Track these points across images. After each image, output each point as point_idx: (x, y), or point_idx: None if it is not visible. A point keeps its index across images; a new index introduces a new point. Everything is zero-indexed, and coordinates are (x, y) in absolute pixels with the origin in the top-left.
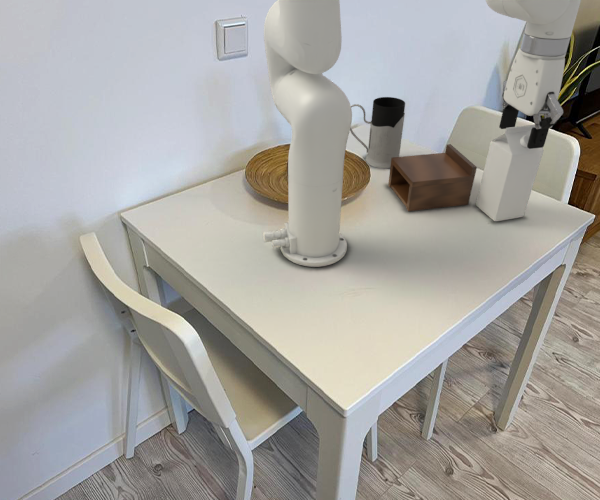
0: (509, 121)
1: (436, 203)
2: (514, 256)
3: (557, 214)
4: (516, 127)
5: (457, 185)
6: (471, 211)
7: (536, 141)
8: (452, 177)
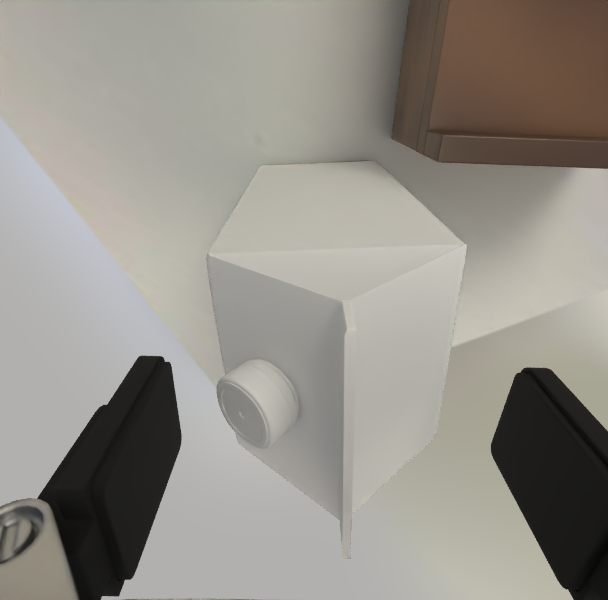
0: (529, 451)
1: None
2: (56, 110)
3: None
4: (343, 420)
5: (426, 61)
6: (346, 124)
7: (93, 420)
8: (453, 13)
